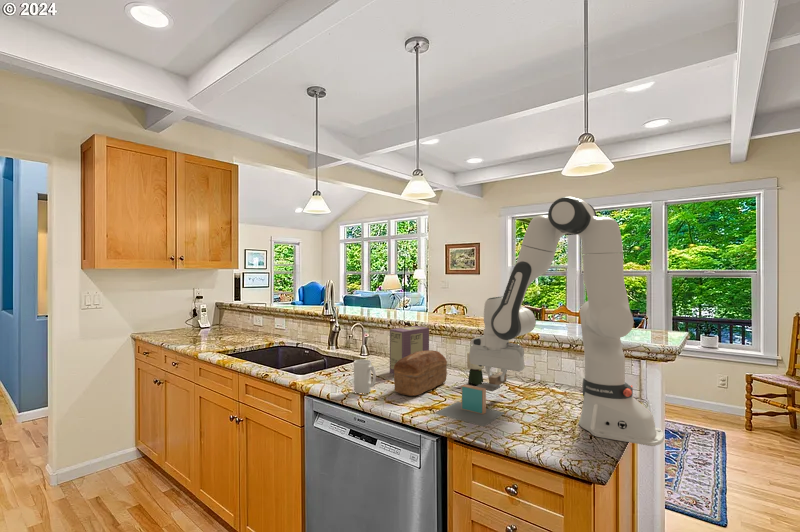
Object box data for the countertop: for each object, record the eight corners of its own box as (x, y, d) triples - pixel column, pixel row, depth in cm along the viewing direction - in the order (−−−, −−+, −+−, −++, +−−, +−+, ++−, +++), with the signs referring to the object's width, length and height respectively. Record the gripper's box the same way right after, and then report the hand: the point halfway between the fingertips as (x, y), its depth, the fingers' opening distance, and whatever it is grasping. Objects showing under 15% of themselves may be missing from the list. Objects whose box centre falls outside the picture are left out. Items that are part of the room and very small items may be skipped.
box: (403, 376, 184) (403, 331, 184) (389, 372, 191) (389, 329, 191) (428, 370, 195) (429, 327, 195) (415, 366, 202) (415, 325, 202)
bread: (388, 394, 158) (388, 356, 159) (426, 378, 181) (426, 345, 182) (415, 400, 152) (415, 361, 152) (450, 382, 175) (451, 348, 175)
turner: (495, 379, 156) (495, 371, 156) (510, 382, 152) (510, 374, 152) (476, 388, 144) (476, 379, 144) (492, 391, 140) (492, 382, 140)
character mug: (478, 388, 166) (478, 356, 166) (462, 385, 170) (462, 353, 170) (489, 382, 175) (489, 351, 175) (473, 379, 179) (473, 349, 179)
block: (485, 412, 137) (485, 388, 137) (482, 414, 135) (482, 390, 135) (464, 407, 142) (464, 384, 142) (461, 409, 140) (461, 385, 140)
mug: (350, 392, 160) (350, 361, 160) (361, 388, 165) (361, 358, 166) (369, 397, 154) (369, 365, 154) (381, 393, 159) (381, 362, 159)
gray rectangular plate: (505, 414, 137) (505, 412, 137) (483, 428, 125) (483, 426, 125) (458, 403, 148) (458, 401, 148) (434, 414, 136) (434, 413, 136)
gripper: (527, 343, 145) (527, 383, 145) (475, 337, 158) (475, 373, 158) (520, 346, 140) (520, 387, 140) (467, 339, 153) (467, 376, 153)
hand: (496, 379), depth 149 cm, fingers closed on turner, 2 cm apart
